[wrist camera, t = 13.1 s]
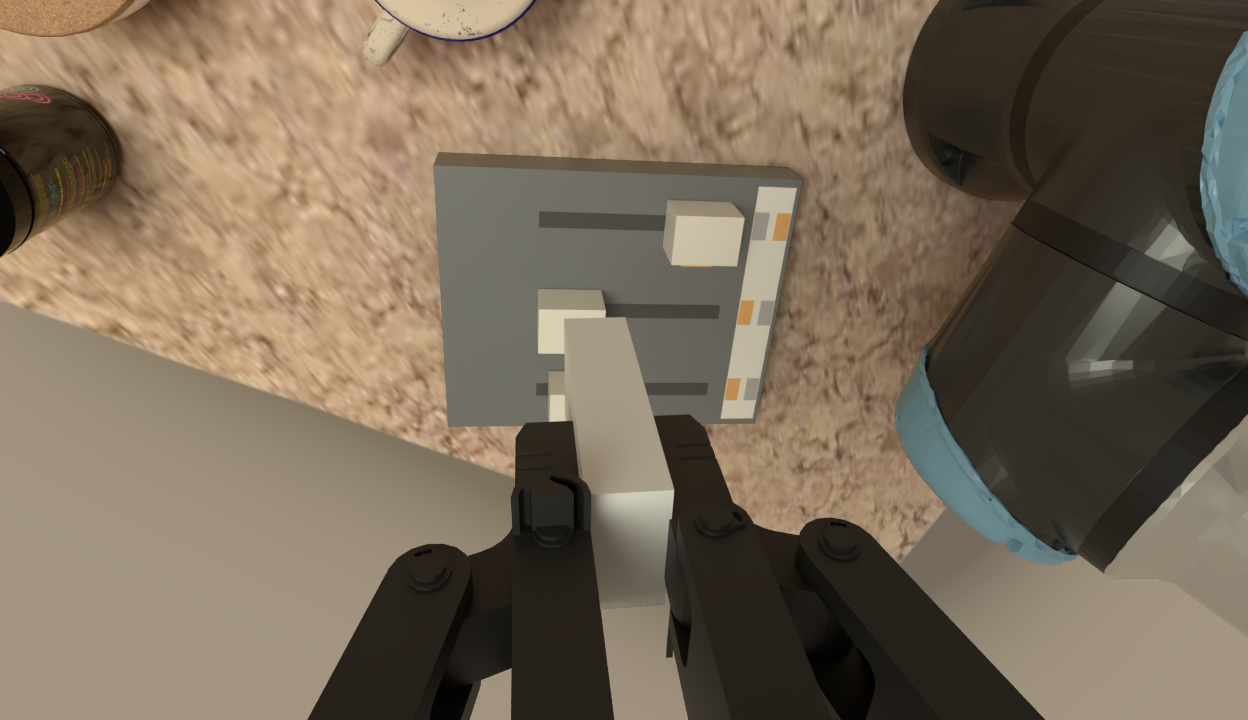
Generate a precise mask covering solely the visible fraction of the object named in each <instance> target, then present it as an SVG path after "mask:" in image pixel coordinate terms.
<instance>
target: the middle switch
mask: <svg viewBox="0 0 1248 720" xmlns="http://www.w3.org/2000/svg"><path fill="white" fill-rule="evenodd" d="M605 315H606V309H605V305H604V300H603V296H602V292H601V290H574V289H538V312H537V338H538V354H564V319H568V318H605Z"/></svg>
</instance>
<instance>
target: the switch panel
mask: <svg viewBox="0 0 1248 720" xmlns="http://www.w3.org/2000/svg"><path fill="white" fill-rule="evenodd" d="M433 166H434V183H435V201H436V219H437V237H438V255H439V273H440V291H441V309H442V327H443V345H444V363H445V380H446V398H447V416H448V427H465V426H524V425H525V423H531V422H548V375H549V371H565V361H564V354H538V338H537V312H538V289H574V290H601V292H602V296H603V300H604V305H605V309H606V315H605V318H609V317H625V318H626V322H627V325H628V329H629V332H630V336H631V339H632V343H633V346H634V350H635V353H636V357H637V360H638V364H639V367H640V371H641V375H642V378H643V382H644V385H645V389H646V392H647V396H648V399H649V403H650V406H651V410H652V413H653V416H660V415H684V414H690V415H691V416H692V417H693V418H694V419H696V420H697V421H698V422H699V423H700V424H749V423H755V422H756V417H757V412H758V407H759V402H760V396H761V391H762V386H763V381H764V376H765V371H766V366H767V361H768V355H769V350H770V345H771V340H772V335H773V330H774V325H775V319H776V314H777V309H778V304H779V299H780V294H781V289H782V284H783V278H784V273H785V268H786V263H787V258H788V253H789V248H790V243H791V237H792V232H793V227H794V222H795V217H796V212H797V207H798V202H799V196H800V191H801V186H802V181H803V180H802V179H801V178H800V177H798V176H797V175H796V174H795V173H793V172H792V171H791V170H790V169H789V168H787V167H769V166H745V165H722V164H699V163H675V162H652V161H629V160H605V159H582V158H559V157H535V156H512V155H489V154H465V153H442V152H439V153H438V155H437V158H436V160H435V163H434V165H433ZM667 200H686V201H714V202H732V203H733V204H734V206H735V207H736V208H737V209H738V210H739V212H740V213H741V214H742V215H743V216H744V218H745V219H744V225H743V232H742V238H741V244H740V250H739V257H738V263H737V266H695V265H671V263H670V261H669V259H668V257H667V255H666V253H665V251H664V249H663V238H664V229H665V219H666V209H667Z"/></svg>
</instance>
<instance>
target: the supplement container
mask: <svg viewBox="0 0 1248 720" xmlns="http://www.w3.org/2000/svg"><path fill="white" fill-rule="evenodd" d="M117 172H118V153H117V148H116V145H115V142H114V140H113V138H112V136H111V134H110V132H109V130H108V129H107V127H106V126H105V125H104V123H103V122H102V121H101V120H100V118H99V117H98V116H97V115H96V114H95V113H94V112H93V111H92V110H90V109H89V108H88V107H87V106H85V105H84V104H83V103H81V102H80V101H78V100H77V99H75V98H73V97H71V96H69V95H67V94H65V93H63V92H60V91H58V90H55V89H51V88H48V87H43V86H37V85H20V86H15V87H10V88H7V89H3V90H0V258H1V257H3V256H5V255H6V254H9V253H11V252H13V251H14V250H16V249H18V248H19V247H20V246H22V245H23V244H24V243H25V242H27V241H28V240H30V239H32V238H34V237H35V236H37V235H39V234H40V233H42V232H44V231H45V230H47V229H49V228H50V227H52V226H54V225H56V224H57V223H59V222H61V221H62V220H64V219H66V218H67V217H69V216H71V215H72V214H74V213H76V212H78V211H79V210H81V209H83V208H84V207H86V206H88V205H89V204H91V203H93V202H95V201H96V200H98V199H100V198H101V197H102V196H104V195H105V194H106V193H107V192H108V191H109V190H110V189H111V187H112V186H113V184H114V182H115V179H116V176H117Z"/></svg>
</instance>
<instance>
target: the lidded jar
mask: <svg viewBox="0 0 1248 720" xmlns="http://www.w3.org/2000/svg"><path fill="white" fill-rule="evenodd" d="M149 1H150V0H0V28H1V29H4V30H8V31H12V32H15V33H19V34H25V35H32V36H39V37H62V36H68V35H74V34H79V33H84V32H88V31H91V30H94V29H96V28H99V27H101V26H104V25H107V24H110V23H113V22H115V21H118V20H121V19H123V18H126V17H127V16H129V15H131V14H133V13H134V12H136V11H137V10H139V9H140V8H142V7H144V6H145V5H146V4H147V3H148V2H149Z"/></svg>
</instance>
